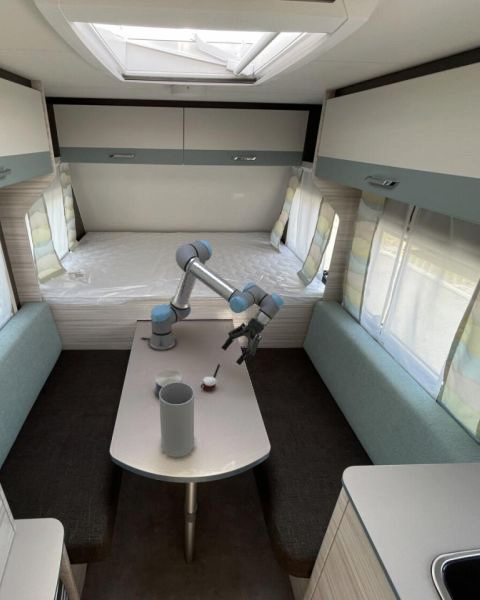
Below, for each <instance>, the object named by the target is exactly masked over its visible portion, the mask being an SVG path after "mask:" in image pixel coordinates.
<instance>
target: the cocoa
mask: <svg viewBox="0 0 480 600" xmlns="http://www.w3.org/2000/svg"><path fill="white" fill-rule="evenodd" d="M220 367H221V364H220V363H217V366H216V368H215V371H214V373H213V375H212V376H211V375H210V376H205V377H204V378H203V379H202V384H201V385H200V388H202V389H203V390H206V391H209V392H210V391H213V390H215V388H216V385H217V379H216V378H217V375H218V372H219V370H220Z"/></svg>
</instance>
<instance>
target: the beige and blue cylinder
mask: <svg viewBox="0 0 480 600" xmlns="http://www.w3.org/2000/svg"><path fill="white" fill-rule="evenodd" d="M154 381H155V393H156V396H157V398H159V392H160V390H161V388H162V387H163V386H165V385H166V384H169V383H172V382H182V381H183V376H182V374H181V373H180V372H178V371H176V370H173V369H170V370H169V369H166V370H162V371H160V372H158V373H157V374H156V376H155V377H154Z"/></svg>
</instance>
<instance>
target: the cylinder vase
mask: <svg viewBox="0 0 480 600" xmlns="http://www.w3.org/2000/svg"><path fill="white" fill-rule="evenodd" d="M158 400H159V419H160V421H159V422H160V439H161V442H160V443H161V448H162V450H163V451H164V453H165V454H166V455H169V456H171V457H174V458H180V457H184V456H186V455H188V454H190V452H192V450H193V449H194V445H195V390H194V389H193V387H192V386H191V385H190V384H188V383H186V382H182V381H181V382H172V383H169V384H166V385H165V386H163V387H162V388H161V390H160V392H159V397H158Z"/></svg>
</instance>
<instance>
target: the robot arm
mask: <svg viewBox="0 0 480 600" xmlns="http://www.w3.org/2000/svg"><path fill="white" fill-rule="evenodd" d="M212 256H213V250H212V246H211V245H210V244H209V243H208V241H206V240H203V239H199V240H194V241H192V242H188V243H184V244H182V245H180V246H179V247H178V249H177V250H176V252H175V261H176V263H177V265H178V267H179V268H180V269H181V270H182V273H181V276H180V278H179V281H178V285H177V288H176V291H175V294H174V295H173V296H172V297H171V298H170V301H169V304H158V305H155V306H154V307H153V308H152V309H151V311H150V313H151V314H150V319H151V335H150V337H141V340H149V346H150V348H151V349H153V350H155V351H156V350H157V351H166V350H170V349H172V348H173V347H174V346H176V345H175V344H176V337H175V336H174V333H173V325H174V324H176V323H179V322H181V321H182V320H185V319H186V318H187V317H189V315H190V314H191V312H192V308H191V307H192V306H191V304H190V301H189V300H190V297H191V295H192V293H193V290H194V286H195V284H196V281H197V280H198V281H200V282H201V283H202V284H204V285H205V286H206V287H207V288H209V289H210V290H211V291H213V292H214V293H216V294H217V295H218V296H220V298H222V299H224V300H225V301H226V302H228V305H229V308H230V310H231V311H232V312H233V313H236V314H240V313H241V314H242V312H245V311H247V310H248V309H249V308H251V307H252V306H254V305H256V306H257V307H259V309H258V310H257V311H256V312H255V314H254V315H253V316H252V317H251V318H250V319H249V320H248V322H247V325H246V324H245V323H244V322H242V323H241V324H240V325H239V326H237V327H235V328H234V329H232V330H230V331H229V332H228V333H227V335H228V338H227V339H226V340H225V342H224V344H223V345H222V346H221V347H220V348H221V349H222V350H223V351H226V350H228V348H229V347H230V346H231V344H232V343H233V342H234V340H235V339H239V338H241V337H245V338H247V346H246V350H245V351H244V352H242V354H241V355H240V356H239V357H238V359H236V361H235V363H236V364H238V365H239V366H241V365H242V363H243V362H244V361H246V360H247V359H248V358H249V357H250V356H252V357H254V356H255V355H256V353H257V349H258V346H259V344H260V341H261V340H262V338H263V337H262V336H261V333H262V332H263V330H264V329H265V327H267V326H268V324H269V323H270V322H271V321H272V320H273V318H274V317H275V316H276V315H277V314H278V313H279V312H280V311H281V309H282V307H283V306H284V305H285V300H284V299H283V298H282V297H281V296H280V295H279V294H277V293H276V292H272V293H271V294H270V293H268V292H266V291H265V290H264V289H263V288H261V287H260V286H259V285H257V284H256V283H254V282H253V281H252V282H249V283H247V284H246V285H245V286H244V287H243V289H242V291H241V290H240V289H238V288H237V287H236V286H234V285H233V284H231V283H230V282H229V281H227V280H226V279H225V278H223V277H222V276H221V275H219V274H218V273H217V272H215V271H214V270H212V268H210V267H208V266H207V265H206V262H208V261H209V260H210V259H211V258H212Z"/></svg>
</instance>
